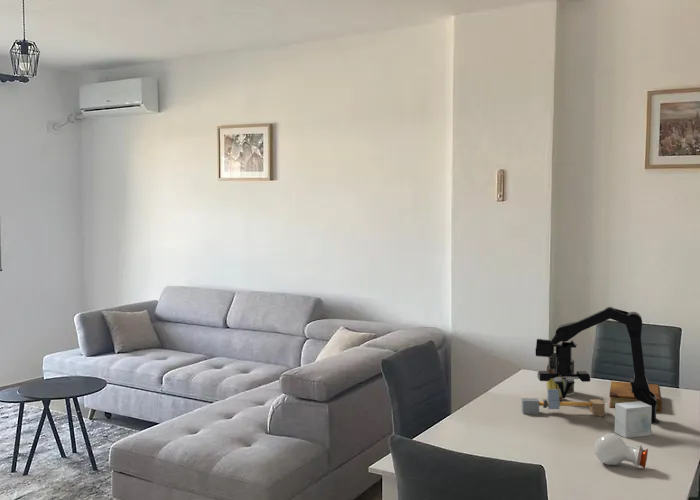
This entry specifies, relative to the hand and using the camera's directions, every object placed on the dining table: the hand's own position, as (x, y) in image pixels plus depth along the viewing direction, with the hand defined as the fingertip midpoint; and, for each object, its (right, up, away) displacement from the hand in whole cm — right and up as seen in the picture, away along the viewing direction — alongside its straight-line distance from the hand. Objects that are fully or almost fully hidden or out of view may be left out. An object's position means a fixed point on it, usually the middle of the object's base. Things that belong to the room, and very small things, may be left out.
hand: (563, 398), depth 260 cm
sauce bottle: (+2, -5, +19) cm, 20 cm away
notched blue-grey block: (-4, -4, 0) cm, 5 cm away
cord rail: (+1, -6, 0) cm, 6 cm away
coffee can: (+9, -4, +29) cm, 31 cm away
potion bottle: (0, -9, -54) cm, 55 cm away
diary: (+33, -5, +13) cm, 36 cm away
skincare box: (+16, -7, -25) cm, 31 cm away
